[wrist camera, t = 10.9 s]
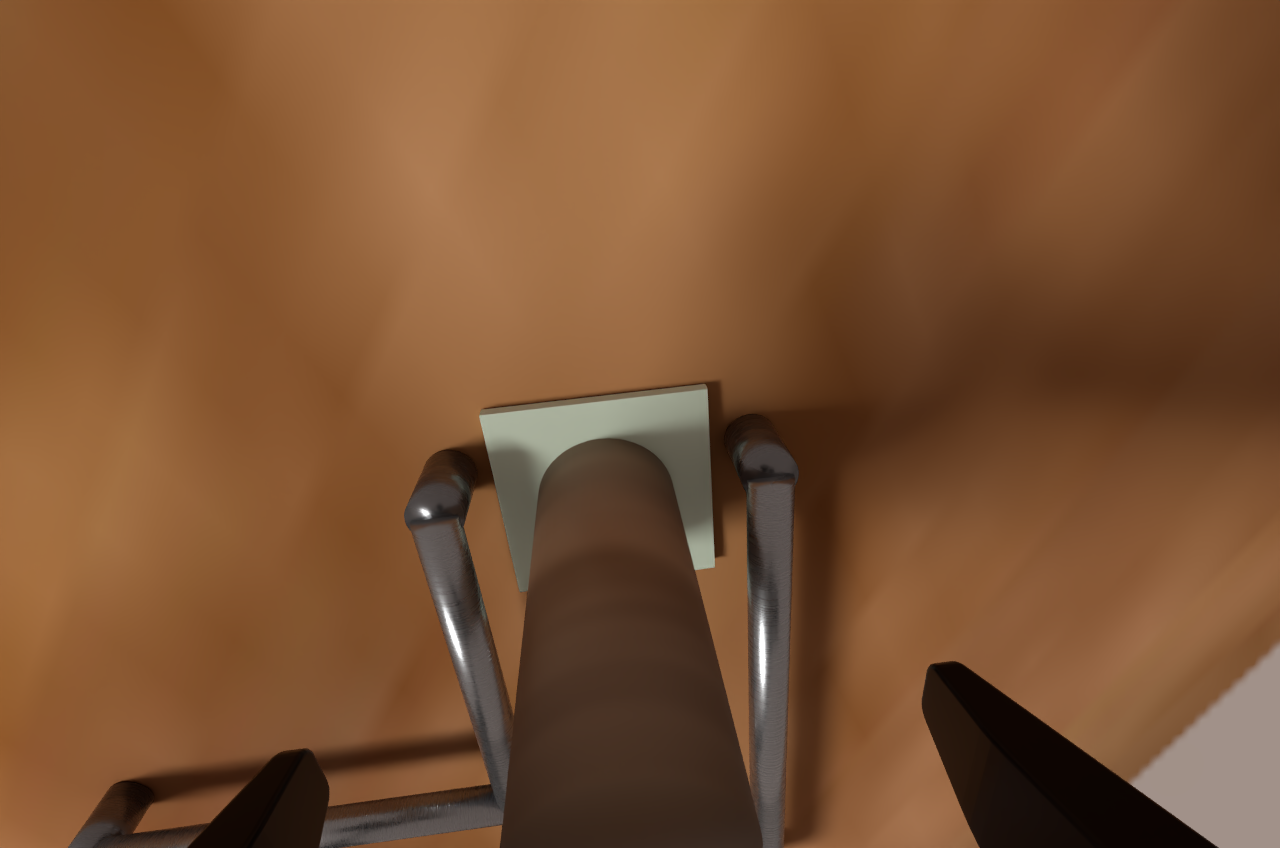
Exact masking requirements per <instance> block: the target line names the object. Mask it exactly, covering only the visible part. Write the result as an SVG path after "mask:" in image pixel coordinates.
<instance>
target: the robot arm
mask: <svg viewBox="0 0 1280 848" xmlns="http://www.w3.org/2000/svg"><path fill="white" fill-rule="evenodd" d="M922 710H923V714H924V718H925V720H926V723H927V725H928V728H929V730H930V733H931V735H932V737H933V740H934V742H935V745H936V747H937V750H938V752H939V755H940V757H941V760H942V762H943V765H944V767H945V769H946V772H947V774H948V777H949V779H950V782H951V784H952V787H953V789H954V792H955V794H956V797H957V799H958V801H959V804H960V806H961V809H962V811H963V813H964V816H965V818H966V820H967V823H968V825H969V827H970V829H971V831H972V833H973V835H974V837H975V839H976V841H977V843H978V845H979V847H980V848H1218V847H1217V846H1215V845H1214V844H1213V843H1211V842H1210V841H1208V840H1207V839H1206V838H1204V837H1203V836H1201V835H1200V834H1199V833H1197V832H1196V831H1194V830H1193V829H1191V828H1190V827H1189V826H1187V825H1186V824H1185V823H1183V822H1182V821H1181V820H1179V819H1178V818H1176V817H1175V816H1174V815H1172V814H1171V813H1169V812H1168V811H1167V810H1165V809H1164V808H1162V807H1161V806H1160V805H1158V804H1157V803H1155V802H1154V801H1153V800H1151V799H1150V798H1148V797H1147V796H1146V795H1144V794H1143V793H1141V792H1140V791H1139V790H1137V789H1136V788H1135V787H1133V786H1132V785H1130V784H1129V783H1128V782H1126V781H1125V780H1123V779H1122V778H1121V777H1119V776H1118V775H1116V774H1115V773H1114V772H1112V771H1111V770H1109V769H1108V768H1107V767H1105V766H1104V765H1103V764H1101V763H1100V762H1098V761H1097V760H1096V759H1094V758H1093V757H1091V756H1090V755H1089V754H1087V753H1086V752H1084V751H1083V750H1082V749H1080V748H1079V747H1077V746H1076V745H1075V744H1073V743H1072V742H1070V741H1069V740H1068V739H1066V738H1065V737H1064V736H1062V735H1061V734H1059V733H1058V732H1057V731H1055V730H1054V729H1052V728H1051V727H1050V726H1048V725H1047V724H1045V723H1044V722H1043V721H1041V720H1040V719H1038V718H1037V717H1036V716H1034V715H1033V714H1031V713H1030V712H1029V711H1027V710H1026V709H1025V708H1023V707H1022V706H1020V705H1019V704H1018V703H1016V702H1015V701H1013V700H1012V699H1011V698H1009V697H1008V696H1006V695H1005V694H1004V693H1002V692H1001V691H999V690H998V689H997V688H995V687H994V686H992V685H991V684H990V683H988V682H987V681H985V680H984V679H983V678H981V677H980V676H979V675H977V674H976V673H974V672H973V671H972V670H970V669H969V668H967V667H966V666H965V665H963V664H961V663H959V662H956V661H949V662H941V663H934V664H931V665H930V666H929V667H928V669H927V673H926V679H925V685H924V690H923V696H922ZM328 802H329V785H328V782H327V779H326V777H325V775H324V773H323V771H322V769H321V767H320V765H319V764H318V762H317V760H316V758H315V756H314V754H313V752H312V751H311V750H309V749H306V748H303V749H296V750H289V751H283V752H280V753H278V754H277V755H275V756H274V757H273V758H272V759H271V760H270V761H269V762H268V763H267V764H266V765H265V766H264V767H263V768H262V769H261V770H260V771H259V772H258V773H257V774H256V775H255V776H254V778H253V779H252V780H251V781H250V782H249V783H248V784H247V785H246V786H245V787H244V788H243V789H242V790H241V791H240V792H239V793H238V794H237V795H236V796H235V797H234V798H233V799H232V801H231V802H230V803H229V804H228V805H227V806H226V807H225V808H224V809H223V810H222V811H221V812H220V813H219V814H218V815H217V816H216V817H215V818H214V819H213V820H212V821H211V823H210V824H209V825H208V826H207V827H206V828H205V829H204V830H203V831H202V832H201V833H200V834H199V835H198V836H197V837H196V838H195V839H194V840H193V841H192V842H191V843H190V845H189V846H188V847H187V848H319V846H320V841H321V836H322V832H323V827H324V822H325V817H326V812H327V807H328Z"/></svg>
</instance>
